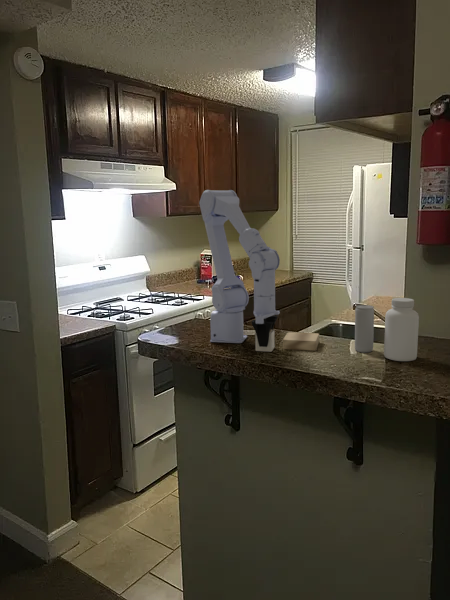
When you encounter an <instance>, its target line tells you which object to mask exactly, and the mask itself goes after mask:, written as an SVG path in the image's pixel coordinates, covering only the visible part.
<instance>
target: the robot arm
mask: <svg viewBox="0 0 450 600" xmlns="http://www.w3.org/2000/svg"><path fill="white" fill-rule="evenodd" d="M198 203H199V208H200V211H201V213H200V214H201V217H202V221H203V222H204V226H205V231H206V235H207V240H208V243H209V245H208V246H209V248H210V249H209V250H210V253H211V257H212V262H213V267H214V270H215V276H216V278H217V280H216V281H215V283H213V285H212V287H211V295H212V296H211V303H212V305H213V307H214V309H215V310H212V311H211V314H210V319H209V322H210V323H209V324H210V326H209V327H210V340H209V341H210V343H225V344H227V343H228V344H242V343H243V342H244V341H245V340H246V339H247V338H248V335H246V334H244V310H246V307H247V305H248V304H249V300H250V297H249V296H250V295H249V292H248V290H247V289H246V287H245V283H244V281H243V280H242V279H241V278H239V277H237V276H236V274H235V268H234V265H233V261H232V256H231V252H230V247H229V242H228V239H227V234H226V229H225V225H224V224H225V223H226V222H228V220H229V222H230V224H231V225H232V227H234V229H235V230H236V231H237V233H238V234H239V236H238V241H239V243H240V245H241V247H242V248H243V250H244V251H245V253H246V255H247V256H248V258H249V261H248V266H249V269H250V271H251V277H252V279H253V311H252V312H253V316H254V317H255V319H253V320H252V321H251V326H252V327H253V329H254V332H255V333H256V335H257V339H258V343H259V346H260V347H267V345H268V341H269V333H270V329H272V330H274V329H275V328H274V327H275V324H276V322H277V319H278V317H279V314H281V312H280V311H281V310H276V270H278V269H279V267H280V264H281V263H280V256H279V254H278V252H277V250H275V248H274V249H273V248H271V247H270V246H268V245H267V244H266V242H265V240H264V239H263V238H262V235H261V234H260V231H259V230H258V229H256V228H254V227H253V228H252V227H251V226H250V224H249V223H248V221H247V219H246V217H245V215H244V213H243V212H242V209H241V207H240V198H239V197H238V195H237V193H236V192H235V190H232V189H229V190H215V189H214V190H211V189H206V190H204V191H203V192H202V194H201V196H200V200H199V201H198Z"/></svg>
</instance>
